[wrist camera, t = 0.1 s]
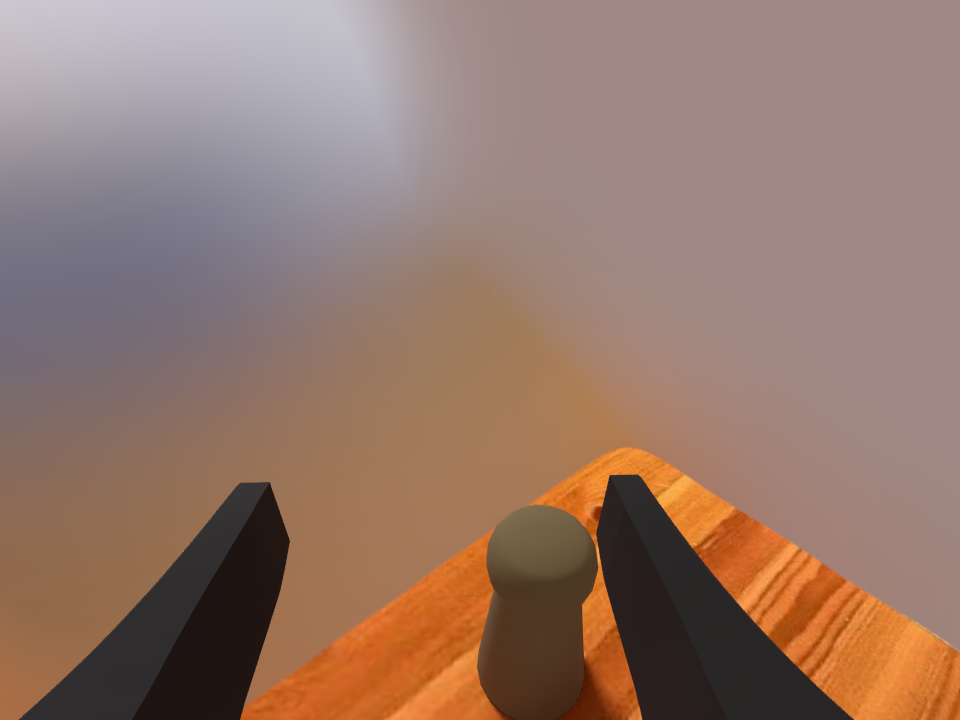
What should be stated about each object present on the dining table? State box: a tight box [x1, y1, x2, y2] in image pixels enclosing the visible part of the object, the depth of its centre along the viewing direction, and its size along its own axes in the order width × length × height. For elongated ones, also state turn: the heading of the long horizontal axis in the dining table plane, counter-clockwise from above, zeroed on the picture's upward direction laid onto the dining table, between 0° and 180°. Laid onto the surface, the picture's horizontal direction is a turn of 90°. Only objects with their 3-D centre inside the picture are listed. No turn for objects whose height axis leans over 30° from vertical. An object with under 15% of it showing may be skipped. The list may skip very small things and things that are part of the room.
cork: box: [477, 505, 598, 720], centre depth 27 cm, size 6×6×11 cm
